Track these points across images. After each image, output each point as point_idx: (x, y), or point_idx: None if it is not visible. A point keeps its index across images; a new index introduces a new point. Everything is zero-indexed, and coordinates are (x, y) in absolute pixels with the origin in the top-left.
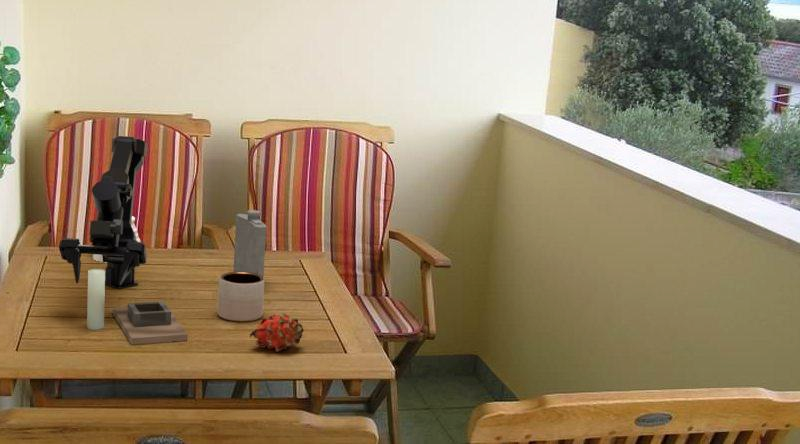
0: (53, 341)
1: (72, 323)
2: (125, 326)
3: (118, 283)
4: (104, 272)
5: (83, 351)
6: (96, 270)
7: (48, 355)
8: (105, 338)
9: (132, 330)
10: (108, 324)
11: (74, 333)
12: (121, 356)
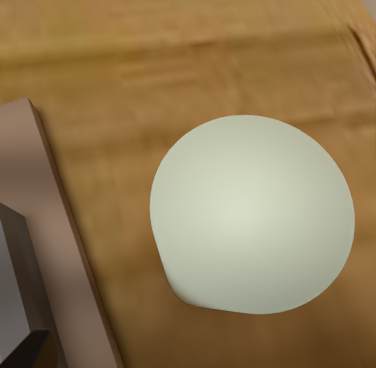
0: (289, 106)
1: None
2: (63, 218)
3: (50, 329)
4: (152, 193)
5: (175, 45)
6: (264, 235)
7: (258, 10)
8: (135, 157)
9: (30, 176)
10: (156, 320)
11: None
12: (60, 25)
